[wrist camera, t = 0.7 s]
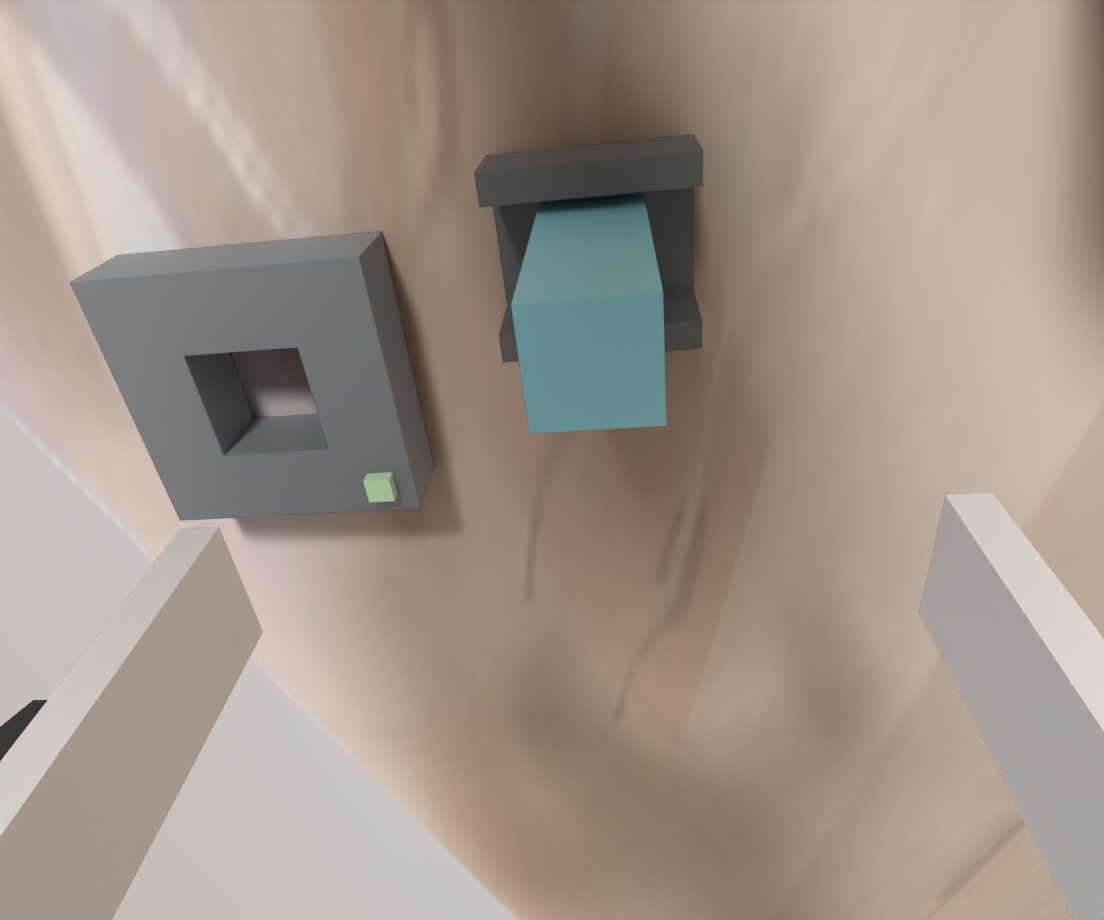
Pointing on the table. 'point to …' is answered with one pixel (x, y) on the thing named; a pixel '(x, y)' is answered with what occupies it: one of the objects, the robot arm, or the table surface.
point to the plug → (591, 317)
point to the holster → (602, 171)
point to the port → (261, 324)
